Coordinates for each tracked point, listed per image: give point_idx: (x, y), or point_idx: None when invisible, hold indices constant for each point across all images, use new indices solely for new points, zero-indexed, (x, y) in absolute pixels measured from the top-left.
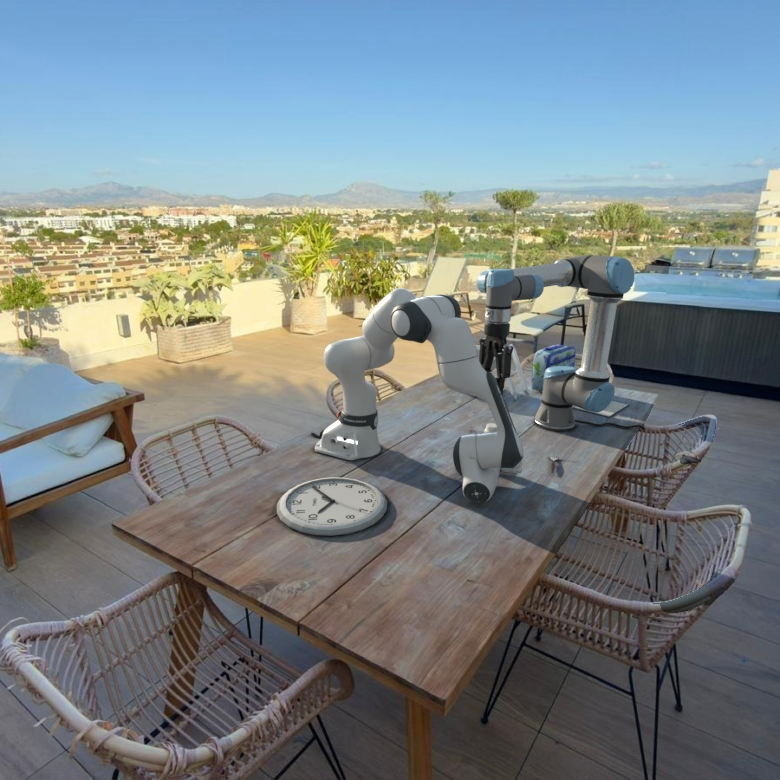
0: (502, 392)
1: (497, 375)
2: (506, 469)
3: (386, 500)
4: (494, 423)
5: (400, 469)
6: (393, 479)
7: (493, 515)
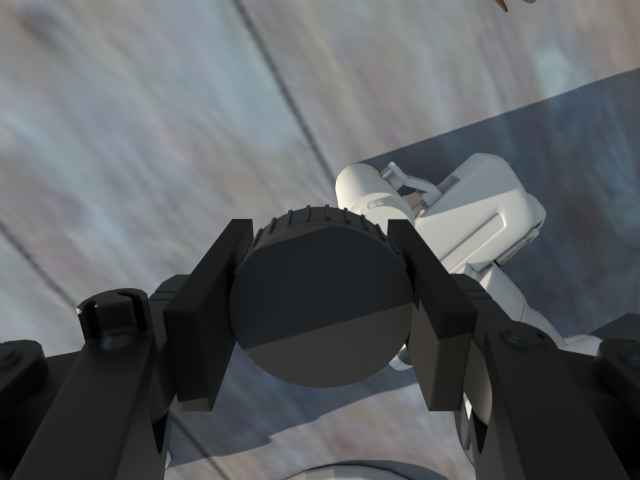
0: (418, 239)
1: (478, 446)
2: (515, 252)
3: (383, 472)
4: (367, 211)
5: (257, 390)
6: (298, 422)
7: (553, 326)
